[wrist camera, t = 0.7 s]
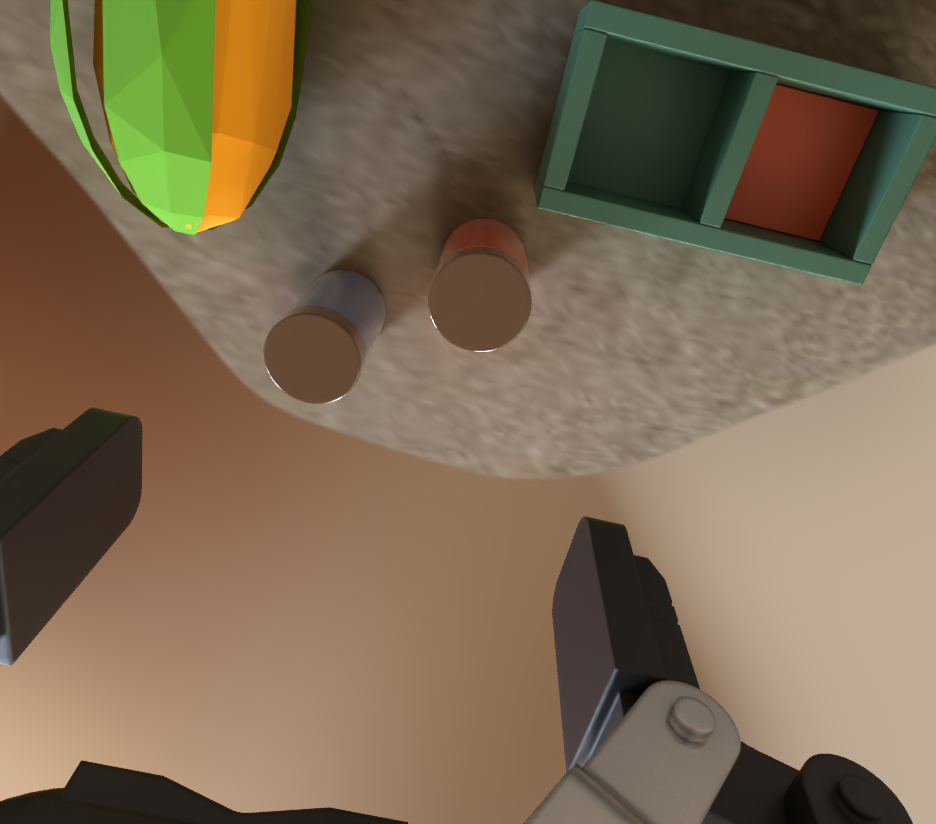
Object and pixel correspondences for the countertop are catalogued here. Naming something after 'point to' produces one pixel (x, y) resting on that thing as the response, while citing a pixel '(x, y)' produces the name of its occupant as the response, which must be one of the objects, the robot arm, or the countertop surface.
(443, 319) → the red pot
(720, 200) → the caddy
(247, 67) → the corn
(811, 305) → the countertop surface
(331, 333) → the blue and brown cylinder
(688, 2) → the countertop surface
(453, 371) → the countertop surface
